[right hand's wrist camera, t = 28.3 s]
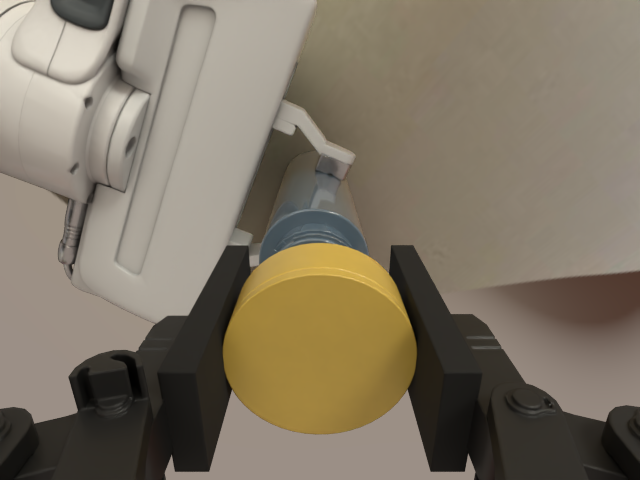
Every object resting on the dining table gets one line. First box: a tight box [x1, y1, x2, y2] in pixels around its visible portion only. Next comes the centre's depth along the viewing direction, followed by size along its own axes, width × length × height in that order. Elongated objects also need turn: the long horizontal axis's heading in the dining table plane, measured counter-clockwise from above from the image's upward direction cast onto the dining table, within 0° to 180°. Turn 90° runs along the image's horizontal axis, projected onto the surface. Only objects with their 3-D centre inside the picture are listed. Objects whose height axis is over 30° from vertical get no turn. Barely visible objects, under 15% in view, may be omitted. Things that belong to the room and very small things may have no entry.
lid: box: [222, 243, 417, 434], centre depth 11 cm, size 5×5×2 cm
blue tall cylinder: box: [259, 151, 369, 265], centre depth 22 cm, size 4×4×16 cm
